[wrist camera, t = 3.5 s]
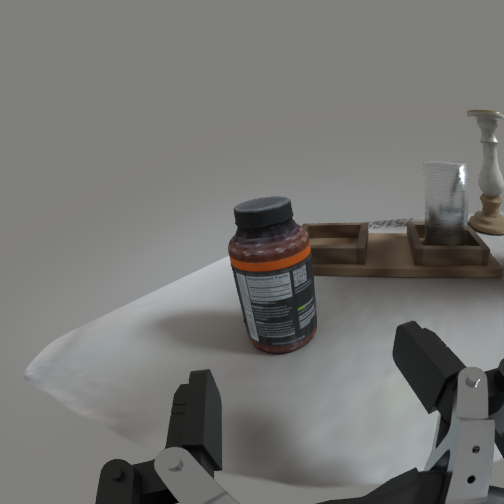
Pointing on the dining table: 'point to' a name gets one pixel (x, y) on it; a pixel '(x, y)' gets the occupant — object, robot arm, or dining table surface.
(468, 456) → the robot arm
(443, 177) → the can
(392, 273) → the wooden divided tray
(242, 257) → the supplement bottle
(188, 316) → the dining table surface
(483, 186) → the candle holder
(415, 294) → the dining table surface
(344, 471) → the dining table surface
